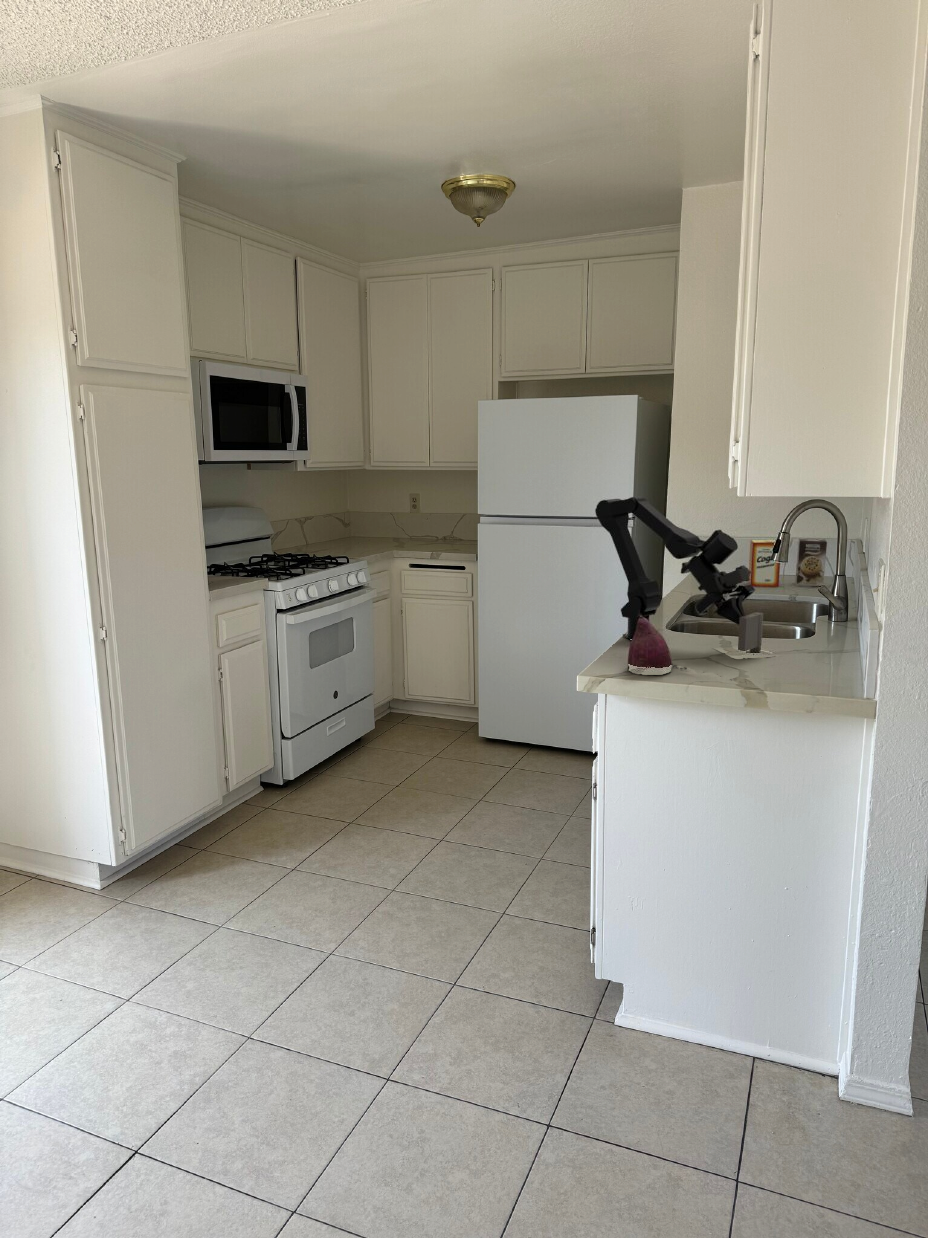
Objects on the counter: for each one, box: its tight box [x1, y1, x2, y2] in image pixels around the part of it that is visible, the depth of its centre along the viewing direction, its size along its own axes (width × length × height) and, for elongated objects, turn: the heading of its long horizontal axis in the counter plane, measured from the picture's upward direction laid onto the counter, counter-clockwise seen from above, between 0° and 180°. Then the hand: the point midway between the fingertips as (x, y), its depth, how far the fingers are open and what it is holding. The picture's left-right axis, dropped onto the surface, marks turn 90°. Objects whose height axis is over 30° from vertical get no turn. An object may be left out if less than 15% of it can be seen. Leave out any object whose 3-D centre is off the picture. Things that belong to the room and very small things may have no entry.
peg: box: [737, 612, 773, 655], centre depth 208 cm, size 6×8×10 cm
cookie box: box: [794, 538, 828, 587], centre depth 304 cm, size 9×6×16 cm
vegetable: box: [627, 615, 673, 668], centre depth 201 cm, size 10×10×15 cm
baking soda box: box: [747, 539, 781, 588], centre depth 306 cm, size 10×6×16 cm
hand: (746, 626), depth 209 cm, fingers closed, pressing on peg
